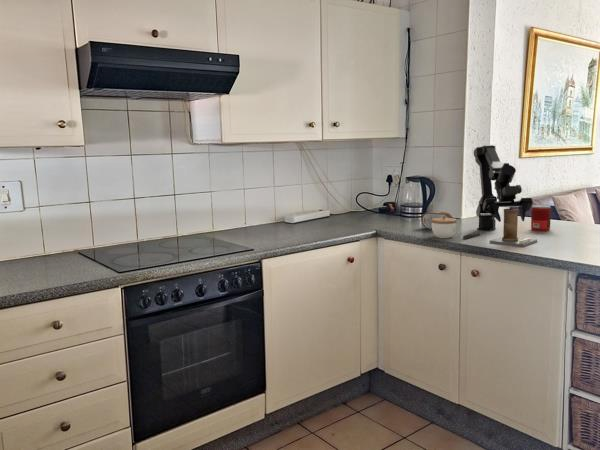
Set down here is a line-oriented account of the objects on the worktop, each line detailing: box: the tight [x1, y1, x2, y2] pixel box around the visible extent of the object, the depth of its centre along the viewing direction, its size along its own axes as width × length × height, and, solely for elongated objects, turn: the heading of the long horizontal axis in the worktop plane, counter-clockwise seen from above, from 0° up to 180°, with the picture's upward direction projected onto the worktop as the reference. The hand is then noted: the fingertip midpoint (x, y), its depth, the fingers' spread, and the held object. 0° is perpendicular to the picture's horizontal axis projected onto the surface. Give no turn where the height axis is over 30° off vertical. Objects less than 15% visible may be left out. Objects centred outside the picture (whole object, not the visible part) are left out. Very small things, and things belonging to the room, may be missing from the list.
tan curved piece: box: [421, 210, 453, 230], centre depth 254 cm, size 15×3×8 cm, turn 54°
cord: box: [462, 231, 481, 240], centre depth 231 cm, size 14×2×2 cm, turn 135°
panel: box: [489, 236, 538, 248], centre depth 217 cm, size 14×13×1 cm
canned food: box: [530, 204, 552, 232], centre depth 243 cm, size 8×8×11 cm
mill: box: [501, 208, 519, 242], centre depth 216 cm, size 6×6×12 cm
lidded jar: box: [431, 216, 457, 239], centre depth 234 cm, size 11×11×9 cm
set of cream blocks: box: [519, 237, 532, 244], centre depth 212 cm, size 1×8×1 cm, turn 135°
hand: (511, 221), depth 214 cm, fingers open, 9 cm apart
